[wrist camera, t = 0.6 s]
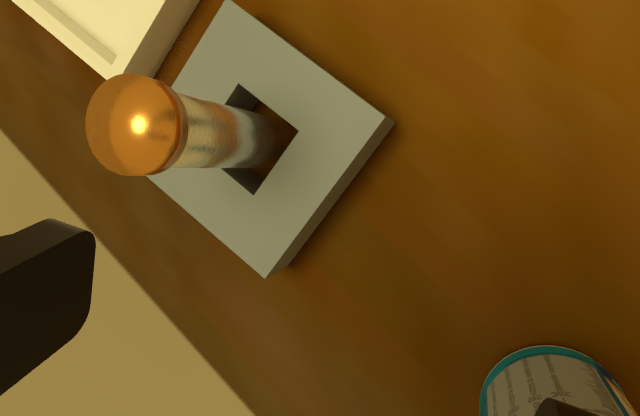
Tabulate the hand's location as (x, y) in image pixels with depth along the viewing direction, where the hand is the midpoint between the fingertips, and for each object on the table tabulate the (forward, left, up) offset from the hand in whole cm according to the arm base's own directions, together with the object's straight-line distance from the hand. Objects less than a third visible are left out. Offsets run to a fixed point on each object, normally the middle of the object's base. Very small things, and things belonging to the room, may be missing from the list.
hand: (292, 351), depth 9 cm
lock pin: (+2, -11, -25) cm, 27 cm away
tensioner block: (+2, -11, -25) cm, 27 cm away
